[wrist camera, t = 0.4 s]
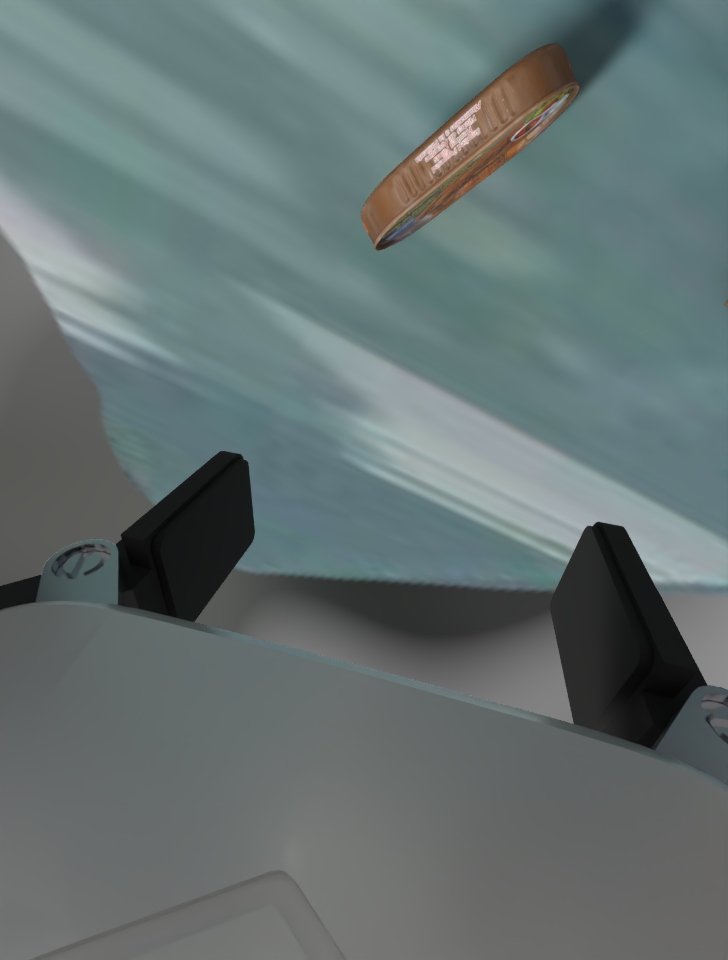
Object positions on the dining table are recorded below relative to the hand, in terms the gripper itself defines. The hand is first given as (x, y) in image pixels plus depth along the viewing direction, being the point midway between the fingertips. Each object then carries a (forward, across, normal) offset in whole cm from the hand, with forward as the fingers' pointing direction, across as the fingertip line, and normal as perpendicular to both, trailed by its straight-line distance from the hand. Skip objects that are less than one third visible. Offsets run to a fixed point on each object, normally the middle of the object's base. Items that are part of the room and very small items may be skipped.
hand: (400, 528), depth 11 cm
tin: (+31, +2, -11) cm, 33 cm away
